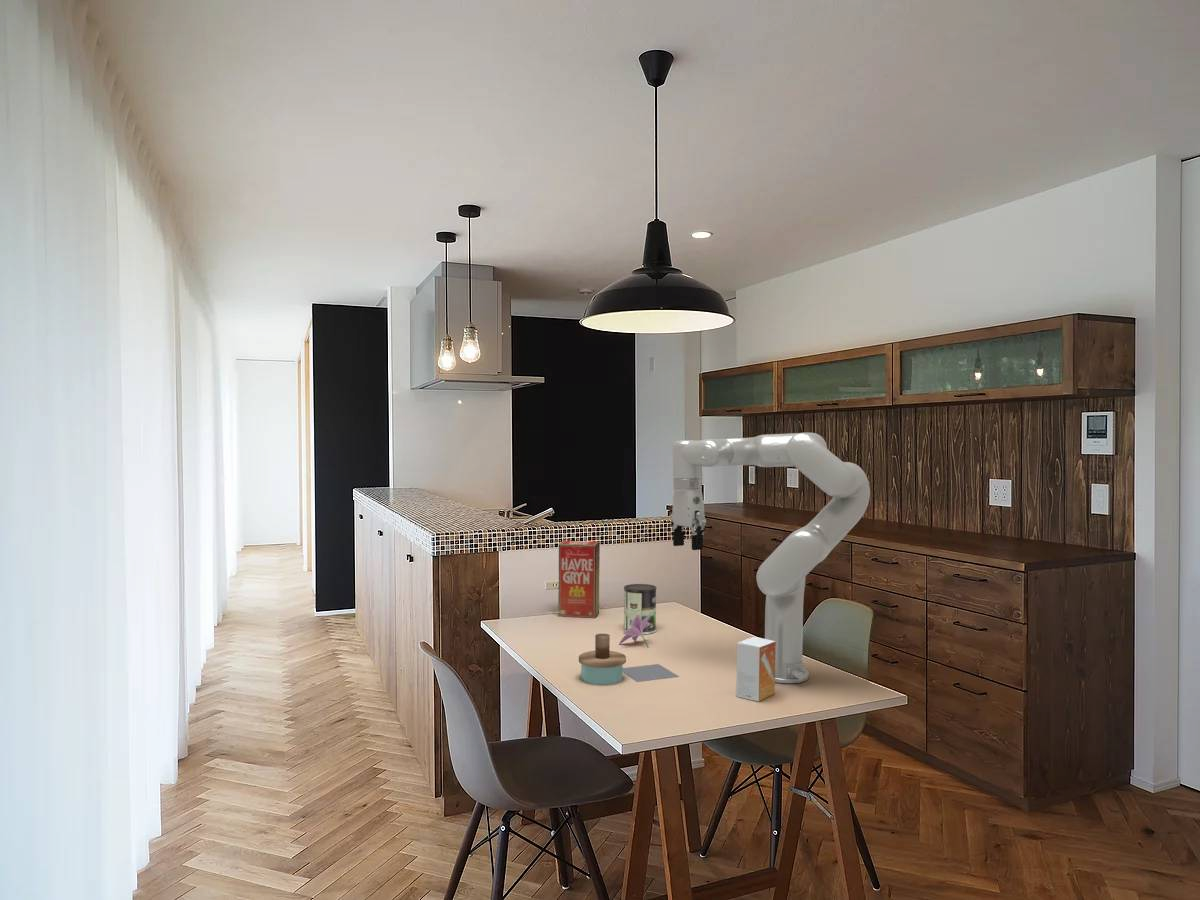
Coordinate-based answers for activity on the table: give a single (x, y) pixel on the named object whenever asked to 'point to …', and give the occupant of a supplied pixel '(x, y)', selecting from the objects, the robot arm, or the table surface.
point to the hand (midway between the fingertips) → (687, 547)
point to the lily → (636, 629)
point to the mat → (648, 673)
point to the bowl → (601, 675)
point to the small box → (755, 668)
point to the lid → (602, 654)
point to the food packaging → (579, 579)
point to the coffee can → (640, 605)
